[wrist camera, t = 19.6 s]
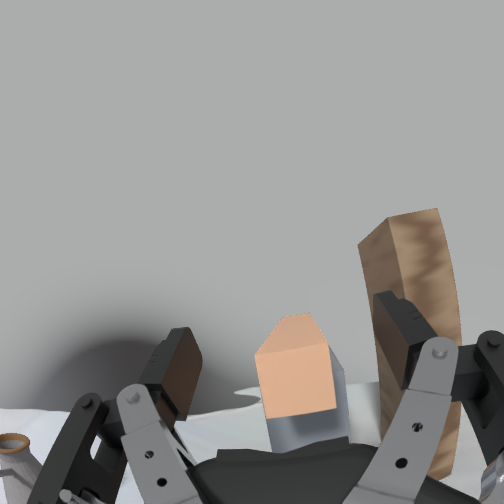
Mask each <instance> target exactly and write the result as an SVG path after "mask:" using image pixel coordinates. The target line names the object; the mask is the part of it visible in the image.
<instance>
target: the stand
mask: <svg viewBox="0 0 504 504" xmlns="http://www.w3.org/2000/svg"><path fill="white" fill-rule="evenodd" d="M358 249H359V254H360V258H361V263H362V267H363V272H364V277H365V282H366V288H367V293H368V299H369V304H370V310H371V317H372V323H373V295H374V294H375V293H379V292H383V291H387V290H391V291H392V292H393V293H394V294H395V296H396V297H397V298H398V299H402V298H405V299H406V300H408V301H410V302H412V303H413V304H414V305H415V306H416V308H417V309H418V311H420V313H421V314H422V315H423V317H424V318H425V319H426V320H427V322H428V323H429V324H430V325H431V327H432V328H433V329H434V331H435V332H436V333H437V335H438V336H439V337H446V338H449V339H451V340H453V341H454V342H455V343H456V344H457V346H462V337H461V324H460V314H459V305H458V299H457V291H456V285H455V279H454V273H453V268H452V263H451V258H450V254H449V249H448V245H447V241H446V237H445V233H444V229H443V226H442V222H441V219H440V215H439V212H438V209H437V208H434V209H429V210H423V211H418V212H412V213H407V214H402V215H397V216H392V217H387V218H386V219H385V220H384V221H383V222H382V223H381V224H380V225H379V226H378V227H377V228H375V229H374V230H373V231H372V232H371V233H370V234H369V235H368V236H367V237H366V238H365V239H364V240H362V241H361V242H360V243H359V244H358ZM373 330H374V327H373ZM374 337H375V345H376V353H377V363H378V373H379V385H380V400H381V423H382V441H383V439H384V437H385V435H386V433H387V431H388V429H389V427H390V425H391V423H392V420H393V418H394V416H395V414H396V412H397V409H398V407H399V405H400V403H401V400H402V398H403V395H404V393H405V391H406V389H405V390H402V391H401V390H400V388H399V385H398V383H397V381H396V379H395V376H394V374H393V372H392V370H391V368H390V365H389V363H388V361H387V359H386V357H385V355H384V353H383V350H382V348H381V346H380V344H379V342H378V340H377V338H376V336H375V332H374ZM460 415H461V401H457V402H451V403H450V407H449V411H448V415H447V418H446V422H445V425H444V428H443V432H442V435H441V438H440V441H439V444H438V446H437V449H436V452H435V455H434V457H433V460H432V462H431V465H430V467H429V470H428V472H427V474H426V475H428V476H430V477H432V478H434V479H436V480H437V481H438V480H440V479H443V478H445V477H447V476H449V475H451V471H452V467H453V462H454V457H455V452H456V446H457V439H458V432H459V424H460Z"/></svg>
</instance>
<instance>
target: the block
mask: <svg viewBox="0 0 504 504" xmlns="http://www.w3.org/2000/svg"><path fill="white" fill-rule="evenodd" d="M254 356H255V361H256V366H257V372H258V377H259V383H260V388H261V393H262V399H263V404H264V409H265V414H266V419H269V418H278V417H286V416H293V415H300V414H306V413H312V412H318V411H323V410H328V409H333V408H337V407H336V398H335V390H334V382H333V374H332V367H331V360H330V353H329V346H328V342H327V341H326V339H325V337H324V335H323V334H322V332H321V331H320V329H319V328H318V326H317V324H316V323H315V321H314V319H313V318H312V316H311V315H310V313H304V314H300V315H294V316H289V317H284V318H282V319H281V320H280V322H279V323H278V324H277V326H276V327H275V329H274V330H273V331H272V333H271V334H270V335H269V337H268V338H267V339H266V341H265V342H264V343H263V345H262V346H261V347H260V349H259V350H258V351H257V352H256V354H255V355H254Z"/></svg>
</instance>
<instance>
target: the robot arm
mask: <svg viewBox="0 0 504 504" xmlns="http://www.w3.org/2000/svg"><path fill="white" fill-rule="evenodd" d="M373 327H374V332H375V336H376V338H377V340H378V342H379V344H380V346H381V348H382V350H383V353H384V355H385V357H386V359H387V361H388V363H389V365H390V368H391V370H392V372H393V374H394V376H395V379H396V381H397V383H398V385H399V388H400V390H401V391H402V390H405V389H406V391H405V393H404V395H403V398H402V400H401V403H400V405H399V407H398V409H397V412H396V414H395V416H394V418H393V420H392V423H391V425H390V427H389V429H388V431H387V433H386V435H385V437H384V439H383V441H382V443H381V445H380V446H379V448H378V447H374V446H371V445H366V444H357V443H349V438H348V436H344V437H339V438H334V439H329V440H324V441H318V442H314V443H311V444H309V445H306V446H303V447H300V448H297V449H294V450H291V451H288V452H285V453H272V452H265V451H258V450H252V449H218V451H217V457H216V458H212V459H209V460H206V461H203V462H201V463H199V464H198V463H197V462H196V461H195V460H194V458H193V457H192V455H191V453H190V452H189V450H188V448H187V447H186V445H185V443H184V442H183V440H182V438H181V437H180V435H179V433H178V431H177V429H176V428H175V427H174V424H175V421H186V419H187V415H188V412H189V408H190V405H191V402H192V398H193V395H194V391H195V388H196V385H197V381H198V378H199V374H200V371H201V368H202V355H201V352H200V350H199V347H198V345H197V343H196V341H195V338H194V336H193V334H192V331H191V329H190V328H189V327H183V328H174V329H172V330H171V331H170V333H169V335H168V337H167V339H166V340H163V341H162V342H161V343H160V344H159V345H158V346H157V347H156V348H155V350H154V352H153V354H152V357H151V358H150V360H149V363H148V364H147V365H146V367H145V369H144V371H143V373H142V375H141V377H140V379H139V381H138V383H137V384H133V385H130V386H128V387H126V388H124V389H123V390H122V391H121V392H120V393H119V395H118V397H117V399H113V400H107V401H103V400H102V399H101V397H100V396H99V395H98V394H96V393H88V394H86V395H84V396H82V397H81V398H80V399H79V400H78V401H77V402H76V404H75V406H74V408H73V409H72V411H71V413H70V415H69V416H68V418H67V420H66V422H65V424H64V425H63V427H62V429H61V431H60V433H59V435H58V437H57V439H56V441H55V443H54V444H53V446H52V448H51V450H50V452H49V454H48V456H47V458H46V461H45V463H44V465H43V467H42V469H41V471H40V473H39V475H38V478H37V480H36V482H35V484H34V487H33V489H32V491H31V494H30V496H29V498H28V501H27V504H115V501H116V498H117V494H118V491H119V488H120V484H121V481H122V478H123V475H124V471H125V468H126V465H127V462H129V465H130V468H131V471H132V473H133V476H134V479H135V481H136V484H137V486H138V489H139V491H140V493H141V496H142V498H143V500H144V504H504V335H503V334H502V333H500V332H498V331H492V330H491V331H486V332H484V333H482V334H481V335H480V336H479V338H478V341H477V344H473V345H466V346H457V344H456V343H455V342H454V341H453V340H451V339H449V338H446V337H439V336H438V335H437V333H436V332H435V331H434V329H433V328H432V327H431V325H430V324H429V323H428V322H427V320H426V319H425V318H424V317H423V315H422V314H421V313H420V311H418V309H417V308H416V306H415V305H414V304H413V303H412V302H410V301H408V300H406V299H405V298H402V299H398V298H397V297H396V296H395V294H394V293H393V292H392V291H391V290H387V291H383V292H379V293H375V294H374V295H373ZM457 401H461V402H462V404H463V407H464V409H465V411H466V413H467V415H468V418H469V420H470V422H471V425H472V427H473V429H474V432H475V434H476V437H477V439H478V442H479V444H480V447H481V450H482V452H483V455H484V458H485V461H486V464H487V468H486V469H485V471H484V473H483V475H482V478H481V495H480V498H479V500H477V499H475V498H473V497H471V496H469V495H467V494H464V493H462V492H460V491H458V490H456V489H454V488H452V487H449V486H447V485H445V484H443V483H441V482H439V481H437V480H436V479H434V478H432V477H430V476H428V475H426V474H427V472H428V470H429V467H430V465H431V462H432V460H433V457H434V455H435V452H436V449H437V446H438V444H439V441H440V438H441V435H442V432H443V428H444V425H445V422H446V418H447V415H448V411H449V407H450V403H451V402H457ZM96 435H97V436H98V437H99V438H100V439H101V440H102V441H101V443H100V446H99V448H98V451H97V453H96V456H95V458H94V460H93V459H92V457H91V454H90V449H91V446H92V444H93V442H94V439H95V437H96Z"/></svg>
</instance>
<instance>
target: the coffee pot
mask: <svg viewBox="0 0 504 504" xmlns="http://www.w3.org/2000/svg"><path fill="white" fill-rule="evenodd" d="M29 445H30V440H29V439H28V437H26V436H25V435H22V434H17V433H7V434H1V435H0V464H1V470H0V477H2V478H3V484H4V489H5V494H6V499H7V503H8V504H27V501H28V498H29V496H30V494H31V491H32V489H33V487H34V484H35V482H36V480H37V478H38V475H39V473H40V471H41V469H42V467H43V466H42V465H41V464H40V463H39V461H38V460H37V459H36V458H35V457H34V456H33V455H32V454H31V453H30V449H29Z"/></svg>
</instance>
